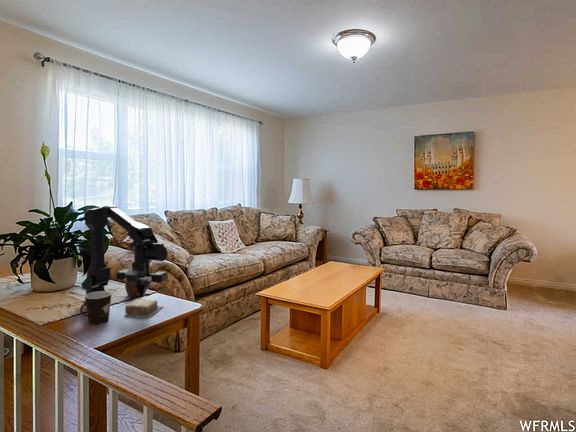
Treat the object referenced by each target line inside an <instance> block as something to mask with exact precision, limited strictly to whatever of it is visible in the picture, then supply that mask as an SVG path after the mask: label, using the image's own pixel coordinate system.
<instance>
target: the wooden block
mask: <svg viewBox="0 0 576 432" xmlns="http://www.w3.org/2000/svg"><path fill="white" fill-rule="evenodd" d="M157 306H158V300H154V299H142V298H141V299H137V298H136V299H134V300H132V301H131V302H130V303H128V304H126V305H125V309H124V310H125V314H127V313H128V314H141V315H148V314H149V313H151V312H152V311H154V310H155V309H156V308H157Z"/></svg>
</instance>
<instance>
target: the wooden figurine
mask: <svg viewBox="0 0 576 432" xmlns="http://www.w3.org/2000/svg"><path fill="white" fill-rule="evenodd" d="M124 285H125V286H124V287H125V292H126V294H127V295H128V296H130V297H136V296H140V294H139V292H138V289H137V287H136V285H135V284H134V283H132V282H130V281H129V282H128V281H127V280H126V282H125V284H124Z"/></svg>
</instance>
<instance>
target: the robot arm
mask: <svg viewBox="0 0 576 432" xmlns="http://www.w3.org/2000/svg"><path fill="white" fill-rule="evenodd" d="M83 215H84V216H83V217H84V224H85V226H86V227H87V228H88V230H89V244H90V265H89V267H88V269H87V271H86V278H85V279H84V280H83V282H81V284H80V285H81V288H82V290H85V295H87V294H89V293H92V292H98V291H106V290H105V286H108V285H109V281H110V279H111V277H112V274H111V267H110V266H107V264H106V261H105V241H104V240H105V239H104V238H105V235H104V230H105V228H106V227H107V224H108V220H109V219H111V220H112V221H113V222H115V223H116V224H118V226H120V227H121V228H123V229H124V230H125V231H126V232H127V236H128V237H129V238H130V239H131V241H132V242H131V243H130V244H129V247H132V248H133V261H132V263H131V266H130V267H129V268H128V269H127V268H125V269H121V270H120V271H117V272H116V274H115V279H116V280H119V281H123V280H126V281H128V282H129V281H130V282H132V283H134V284H135V285H136V287H137V289H138V292H139V297H140V298H144V297H145V294H146V292H147V290H148V289H149V288H148V287H149V286H150V284H151V283H152V282H153V283H162V282H164V281H166V280H167V279H168V273H167V272H166V271H156V272H155V273H152V269H151V263H152V261H157V262H164V261H165V260H166V259H167V258H168V254H169V253H168V249H167V247H165V244H164V243H163V242H161V243H160V242H159V241H158V240H157V237H156V235H155V234H154V232H153V229H152V227H150V226H148V225H147V224H144V223H141V222H137V221H136V220H134V219H133V218H132V217H130V216H129V215H128V214H127V213H125V212H123V211H122V210H121V209H120V208H119V207H118V206H117V205H114V204H113V205H105V206H102V207H98V208H88V209H87V210H86V211H85V212H84V213H83ZM108 218H109V219H108ZM84 303H86V301H85V300H84V301H83V304H84Z"/></svg>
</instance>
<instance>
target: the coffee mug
mask: <svg viewBox="0 0 576 432" xmlns="http://www.w3.org/2000/svg"><path fill="white" fill-rule="evenodd" d="M84 301H86V303H84V302H83V304H82V305H81V306H80V308H79V309H80V310H79V311H80V314H81V315H82V316H83V317H87V319H88V324H90V325H94V326H95V325H103V324H105V323H107V322H108V321H109V318H110V309H111V303H112V292H111V291H107V290H105V291H98V292H92V293H89V294H87V295H86V294H85V295H84ZM85 306H86V313H87V314H85V313H84V312H83V308H84V307H85Z"/></svg>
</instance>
